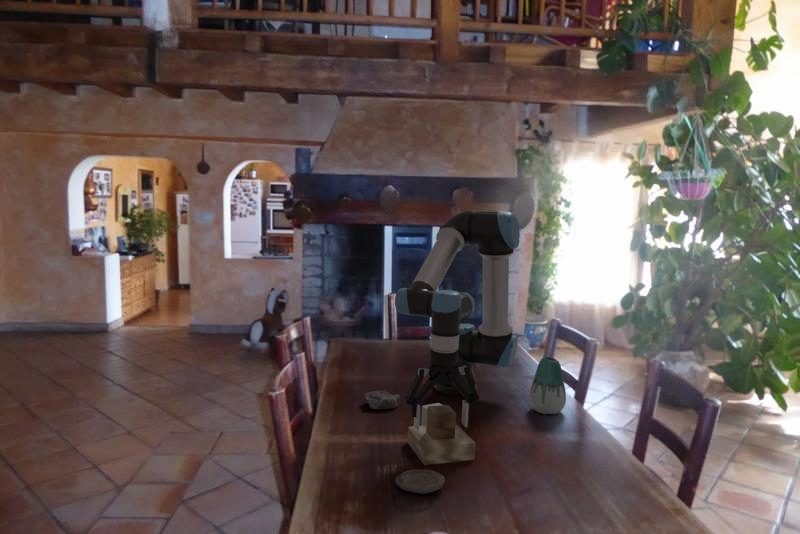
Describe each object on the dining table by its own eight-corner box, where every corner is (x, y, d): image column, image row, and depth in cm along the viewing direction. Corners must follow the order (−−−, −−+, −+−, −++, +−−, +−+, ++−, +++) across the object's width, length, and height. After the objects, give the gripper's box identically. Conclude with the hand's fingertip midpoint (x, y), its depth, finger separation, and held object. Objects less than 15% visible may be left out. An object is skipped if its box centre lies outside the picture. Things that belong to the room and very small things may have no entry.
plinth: (454, 439, 165) (454, 422, 165) (474, 461, 152) (475, 442, 151) (407, 444, 161) (407, 426, 160) (424, 466, 148) (424, 448, 147)
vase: (567, 409, 192) (571, 356, 189) (561, 420, 181) (565, 364, 179) (532, 402, 196) (535, 351, 194) (524, 413, 186) (528, 359, 184)
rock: (403, 409, 186) (403, 396, 185) (368, 412, 183) (368, 398, 183) (396, 401, 194) (397, 388, 193) (363, 403, 191) (363, 390, 190)
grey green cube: (438, 421, 177) (438, 402, 176) (449, 428, 172) (450, 409, 171) (421, 425, 174) (422, 405, 173) (432, 432, 169) (433, 412, 168)
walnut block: (447, 429, 159) (448, 405, 159) (454, 438, 154) (455, 413, 153) (426, 430, 158) (427, 406, 157) (433, 439, 152) (434, 414, 151)
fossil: (398, 479, 142) (398, 467, 142) (445, 481, 141) (445, 469, 140) (392, 497, 132) (392, 484, 131) (443, 499, 130) (443, 487, 130)
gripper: (482, 344, 160) (478, 418, 162) (394, 347, 153) (392, 424, 156) (493, 351, 153) (489, 428, 155) (402, 354, 146) (399, 435, 149)
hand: (440, 426), depth 156 cm, fingers open, 13 cm apart
